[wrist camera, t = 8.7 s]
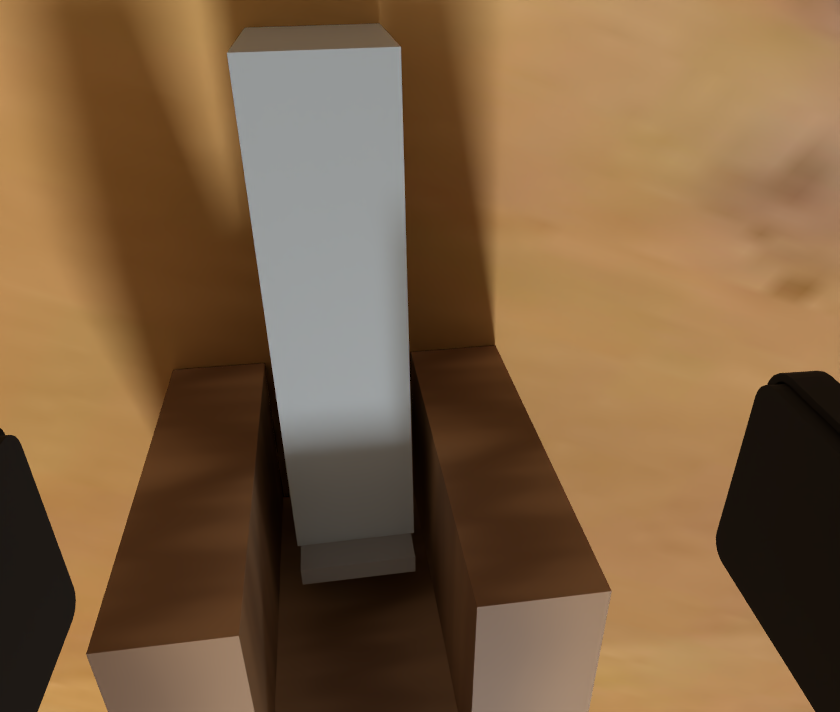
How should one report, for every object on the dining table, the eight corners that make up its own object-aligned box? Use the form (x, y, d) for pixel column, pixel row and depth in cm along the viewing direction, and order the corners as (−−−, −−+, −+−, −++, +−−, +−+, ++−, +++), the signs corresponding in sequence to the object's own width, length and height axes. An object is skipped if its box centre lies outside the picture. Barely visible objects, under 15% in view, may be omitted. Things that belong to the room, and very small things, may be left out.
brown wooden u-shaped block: (495, 345, 25) (611, 591, 15) (486, 515, 29) (573, 791, 20) (173, 369, 24) (86, 654, 14) (210, 544, 28) (162, 854, 18)
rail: (379, 23, 19) (406, 53, 14) (396, 449, 27) (418, 570, 21) (244, 27, 19) (221, 60, 14) (300, 459, 26) (299, 585, 21)
